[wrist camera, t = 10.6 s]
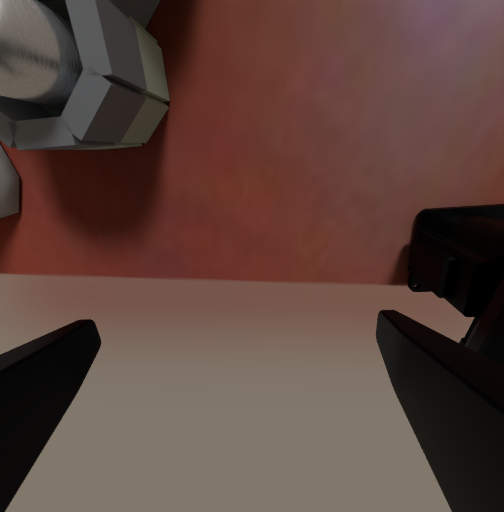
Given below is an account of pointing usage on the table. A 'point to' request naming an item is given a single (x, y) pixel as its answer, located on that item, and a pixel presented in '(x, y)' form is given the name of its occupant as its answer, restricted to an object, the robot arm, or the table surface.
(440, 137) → the table surface
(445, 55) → the table surface
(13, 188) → the flask
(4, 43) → the pin
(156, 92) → the pale green bracket
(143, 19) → the grey hollow faceted fixture
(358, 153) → the table surface
